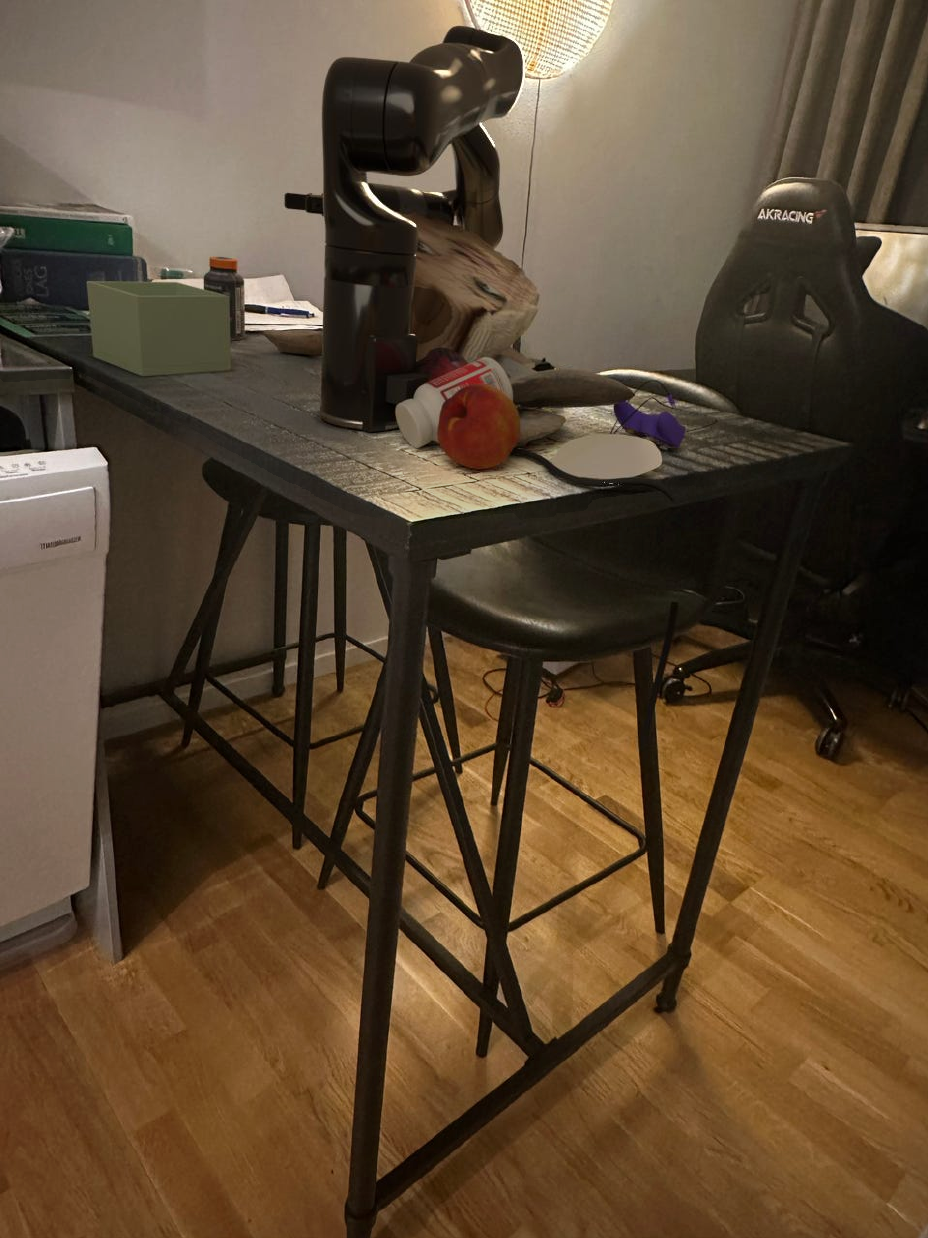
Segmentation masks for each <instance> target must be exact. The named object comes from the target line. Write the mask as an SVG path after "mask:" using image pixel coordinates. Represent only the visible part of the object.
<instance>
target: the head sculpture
mask: <svg viewBox="0 0 928 1238" xmlns="http://www.w3.org/2000/svg"><path fill="white" fill-rule="evenodd" d="M399 215H401V216H403V217H405V218H407V219H409V220H411V221H412V222H413V223H414V224H415V225H416V226H417V229H418V248H417V253H416V255H417V261H416V274H415V286H414V301H413V315H412V328H411V334H414V335H416V336H417V338H418V343H417V356H416V359H417V360H418V361H419V360H421V359H423V358H424V357H426V355H427V354H428V353H429V351H430V350H432V349H435V348H440V347H442V348H448V349H450V350H453V351H455V352H457V353H458V354H459V355H460V356H462V357H464V359H465V360H466V361H467V362H468V364H469V363H472V362H474V361H476V360H479V359H481V358H484V357H488V358H492V357H494V356H495V355H498V354H499V353H501V352H502V351H503V350H505V349H506V348H508V347H512V345H513V344H515V342H516V341H518V340H519V339H520V337H521V336H522V335H524V333H525V332H527V331H528V329H529V328H530V326H531V325H532V323H533V321H534V320H535V318H536V316H537V313H538V312H539V308H538V304H539V302H540V297H541V296H540V294H539V293H538V291H537V286H536V285H534V283H533V281H532V280H531V279H529V278H528V277H527V276H526V274H525V271H524V269H523V268H521V267H520V266H519V264H517V263H516V261H514V260H513V259H509V258H507V257H506V256H505V255H504V254H502V252H500V251H498V250H495V249H493V248H492V247H491V246H490V245H489V244H487V243H486V242H485V241H484V240H482V238H480V237H479V236H478V235H476V234H475V233H473V232H468V231H466V230H464V229H462V228H461V227H460V226H458V224H453V225H450V224H449V223H447V222H446V221H445V220H440V219H437V218H432V219H428V218H427V217H426V215H423V216H422V217H421V216H419V215H418V213H417V211H416V210H414V211H413V212H412V213H410V214H408V215H406V214H402V213H399Z"/></svg>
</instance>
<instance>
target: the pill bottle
mask: <svg viewBox="0 0 928 1238" xmlns="http://www.w3.org/2000/svg"><path fill="white" fill-rule="evenodd" d="M208 265H209V270H208V271H207V272H205V274H203V289H204V290H208V291H212V292H215V293H219V294H223V295H226V296H229V301H230V341H239V340H242V339H244V338H245V336H246V334H245V333H246V327H245V326H246V323H245V322H246V320H245V319H246V317H245V305H246V304H245V279H244V277H243V276H242V275H241V274H239V273H238V268H239V267H238V259H236V258H232V257H225V256H210V257H209V263H208Z"/></svg>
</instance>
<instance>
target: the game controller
mask: <svg viewBox="0 0 928 1238" xmlns="http://www.w3.org/2000/svg"><path fill="white" fill-rule="evenodd" d="M650 382H656V383H658V384H660V385H661V386H662V388H664V390H665V391H666V394H667V395H668V396H666V398H667V400H668V402H669V405H666V404H664V403H662V402H660V401H659V400H658V399H657V398H656V397H654V396H653V397H649V398H648V399H646V400H645V401H643V403H641V404H640V405H639V406H638V407H637V408H635V407H634V406H633V405H632V404H631V403H630V401H631V399H629V400H627V401H624V402H621V403H618V404H614V405H613V406H612V407H613V413H614V416H615V418H616V421H615V423H614V424H613V426H612V429H611V431H610V433H609V434H617V432H618V431H619V430H620V429H621V428H622V429H623V430H624V432H625V433H627V434H628V435H630V436H634V437H638V438H642V439H645V438H647V437H649V438H652V439H654V440H656V441H658V443H660V444H662V445H659V448H660V449H661V450H663V451H669V448H668V447H670V448H680V446H681V444H682V441H683V439H685V438H686V434H687V433H688V432H692V431H696V430H701V429H704V428H707V427H710V426H712V425H715V424H716V423H718V419H717V418H715V417H714V416H711V415H707V414H702V413H697V412H692V411H688V410H684V409H678V408H676V407H677V405H676V401H675V399H674V397H673V395H672V394H671V395H670V393H669V390H667V388H666V387H665V385H664V384H663V383H661V381H658V380H657V379H655V380H654V379H653V380H651V379H650V380H648V381H646V382H644V383H643V384H641V385H640V386H639V387H638V388H637V389H636V390H635V391H633V392H634V393H635V394H636V393H637V392H638V391H639V390H640V389H641V388H642V387H643V386H644V385H646V384H648V383H650ZM652 399H653V400H655V401H656V402H657V403H658V404H659V405H661V406H662V407H663V406H664V407H666V408H668V409H672V410H676V411H680V412H686V413H690V414H696V415H702V416H706V417H709V418H712V419H715V422H713V423H711V424H708V425H704V426H701V427H698V428H697V427H696V428H693V429H689V430H688V429H687V428H686V426H685V425H682V424H680V423H679V421H678V420H677V418H676V417H675V416H674V415H673V414H672V413H671V412H668V411H661V412H660V413H652V414H651V413H645V412H643V411H640V410H639V409H640V408H641V407H643V406H644V405H645V404H646V403H647V402H649V400H652ZM617 423H619V427H617V428H616V429H615V427H616V425H617ZM614 429H615V431H614ZM686 429H687V430H686ZM613 431H614V432H613Z"/></svg>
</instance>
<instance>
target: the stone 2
mask: <svg viewBox="0 0 928 1238" xmlns="http://www.w3.org/2000/svg"><path fill="white" fill-rule="evenodd" d="M509 381H510V383H511V386H512V390H513V403H514V405H515V406H520V407H519V408H523V409H526V408H527V409H528V408H529V409H538V408H543V409H545V408H546V409H547V408H558V409H559V408H562V409H564V408H565V409H571V408H574V409H575V408H590V407H592V408H593V407H604V406H614V404H618V403H621V402H624V401H626V402H628V400H629V399H630V400H631V399H633V398H635V396H636V393H634V392H635V391H634V390H632V389H631V388H630V387H628V386H627V385H625V384H623V382H620V381H618V380H615V379H614V378H610V377H608V376H605V375H601V374H598V373H595V372H592V371H587V370H583V369H575V368H556V369H555V368H554V369H553V370H546V371H539V372H534V373H530V374H525V375H521V376H517V377H513V378H510V379H509Z"/></svg>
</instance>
